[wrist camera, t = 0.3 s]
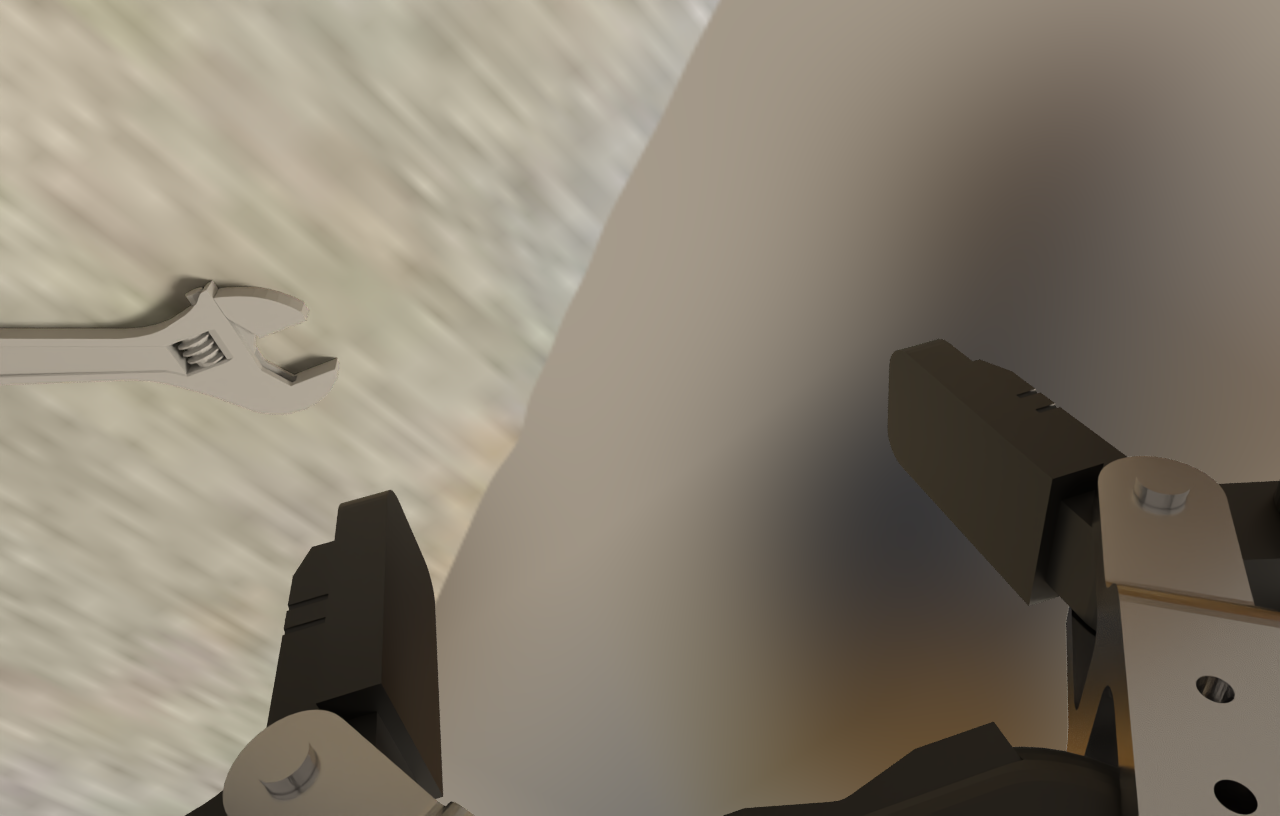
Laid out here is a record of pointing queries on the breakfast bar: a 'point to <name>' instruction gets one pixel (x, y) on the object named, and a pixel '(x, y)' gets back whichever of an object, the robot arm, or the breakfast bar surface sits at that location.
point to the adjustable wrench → (180, 352)
